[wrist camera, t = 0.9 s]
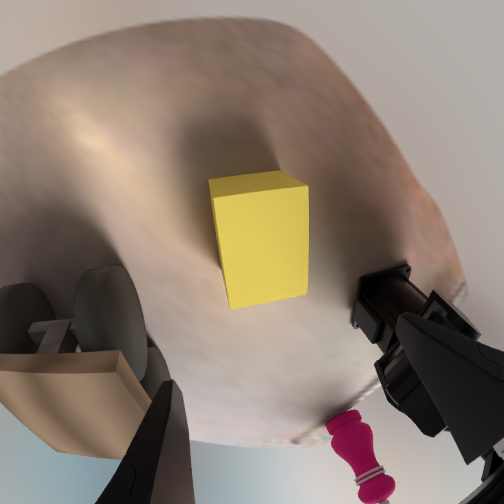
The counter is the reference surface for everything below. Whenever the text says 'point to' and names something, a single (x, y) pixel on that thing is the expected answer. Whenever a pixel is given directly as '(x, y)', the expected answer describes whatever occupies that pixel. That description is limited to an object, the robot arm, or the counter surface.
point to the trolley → (79, 364)
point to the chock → (261, 236)
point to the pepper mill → (360, 456)
